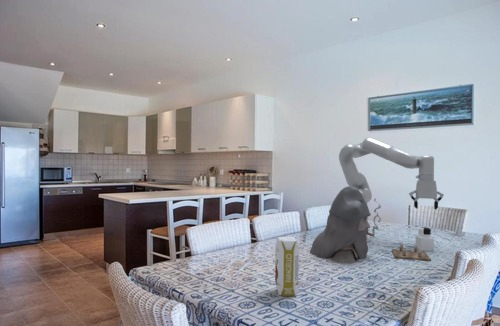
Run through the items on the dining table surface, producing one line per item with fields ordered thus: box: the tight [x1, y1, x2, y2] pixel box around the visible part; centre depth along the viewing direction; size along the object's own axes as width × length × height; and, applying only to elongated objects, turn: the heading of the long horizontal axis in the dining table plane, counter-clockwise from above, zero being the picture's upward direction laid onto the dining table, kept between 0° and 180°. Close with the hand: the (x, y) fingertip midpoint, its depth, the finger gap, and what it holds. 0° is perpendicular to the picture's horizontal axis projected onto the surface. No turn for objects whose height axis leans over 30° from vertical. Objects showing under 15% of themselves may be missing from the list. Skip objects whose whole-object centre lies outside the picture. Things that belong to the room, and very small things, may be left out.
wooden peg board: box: [391, 243, 432, 262], centre depth 173 cm, size 16×16×4 cm
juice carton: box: [274, 236, 300, 297], centre depth 120 cm, size 8×9×19 cm
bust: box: [309, 185, 382, 265], centre depth 174 cm, size 34×34×35 cm
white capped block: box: [415, 226, 435, 252], centre depth 188 cm, size 7×7×12 cm
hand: (425, 208), depth 188 cm, fingers open, 9 cm apart
